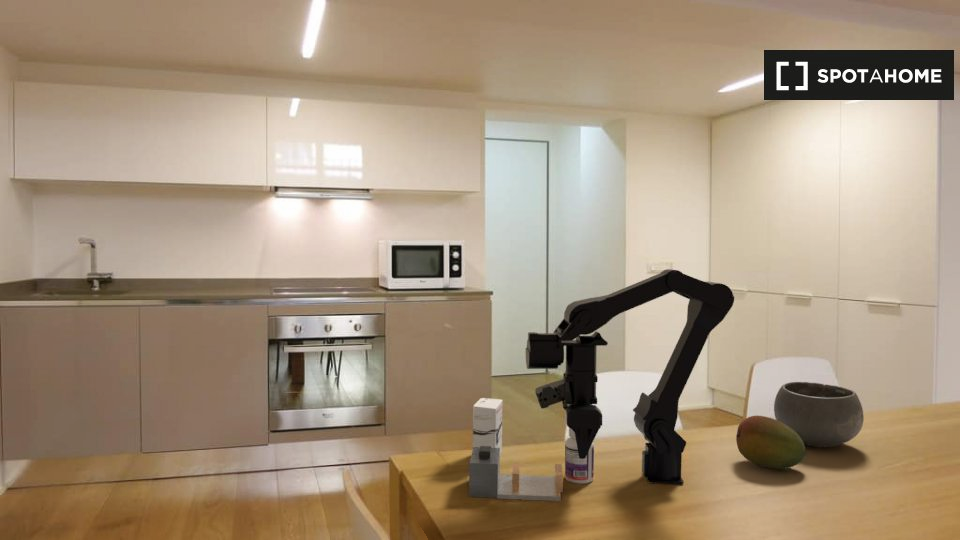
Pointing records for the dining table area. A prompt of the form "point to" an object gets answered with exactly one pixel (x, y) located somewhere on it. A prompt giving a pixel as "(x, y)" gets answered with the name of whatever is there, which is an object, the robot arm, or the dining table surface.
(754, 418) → the fruit
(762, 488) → the dining table surface
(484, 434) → the ink box
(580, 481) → the pill bottle
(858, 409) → the bowl
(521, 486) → the grey block with slats
